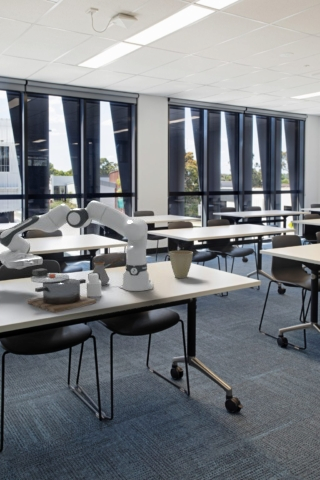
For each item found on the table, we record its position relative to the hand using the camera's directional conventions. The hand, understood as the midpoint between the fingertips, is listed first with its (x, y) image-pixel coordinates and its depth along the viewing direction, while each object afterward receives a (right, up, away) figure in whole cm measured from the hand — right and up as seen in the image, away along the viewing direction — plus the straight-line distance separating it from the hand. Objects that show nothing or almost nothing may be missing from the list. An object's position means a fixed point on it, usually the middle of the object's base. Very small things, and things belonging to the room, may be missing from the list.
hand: (31, 264), depth 245 cm
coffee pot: (+37, -13, +27) cm, 48 cm away
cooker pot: (+20, -17, -17) cm, 31 cm away
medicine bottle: (+34, -17, -1) cm, 38 cm away
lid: (+12, -7, -10) cm, 17 cm away
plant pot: (+82, -11, +44) cm, 94 cm away
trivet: (+20, -18, -17) cm, 32 cm away
